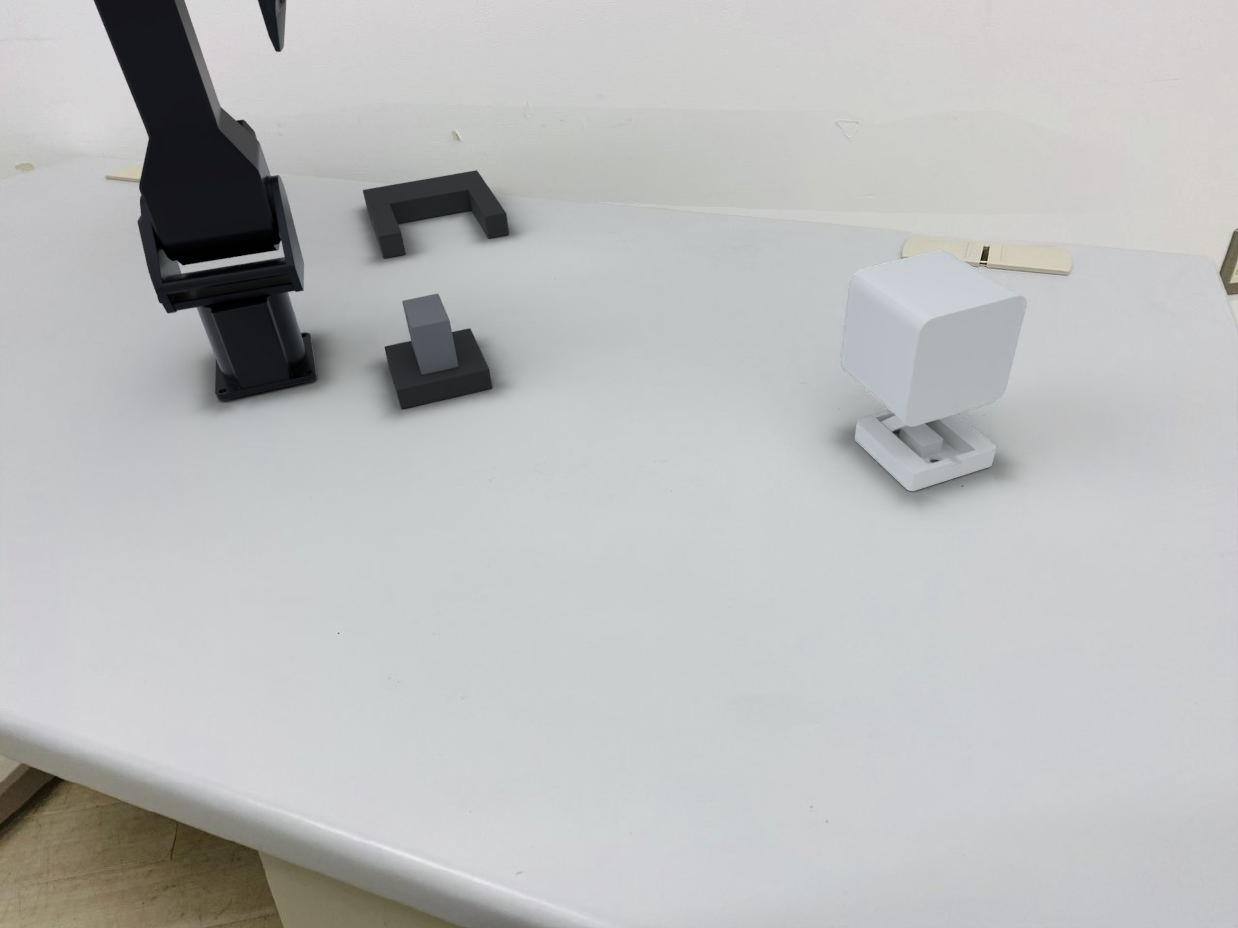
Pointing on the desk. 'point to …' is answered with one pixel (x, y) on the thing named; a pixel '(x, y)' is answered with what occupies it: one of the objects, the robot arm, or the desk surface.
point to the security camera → (929, 361)
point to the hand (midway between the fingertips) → (225, 50)
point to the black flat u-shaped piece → (431, 206)
